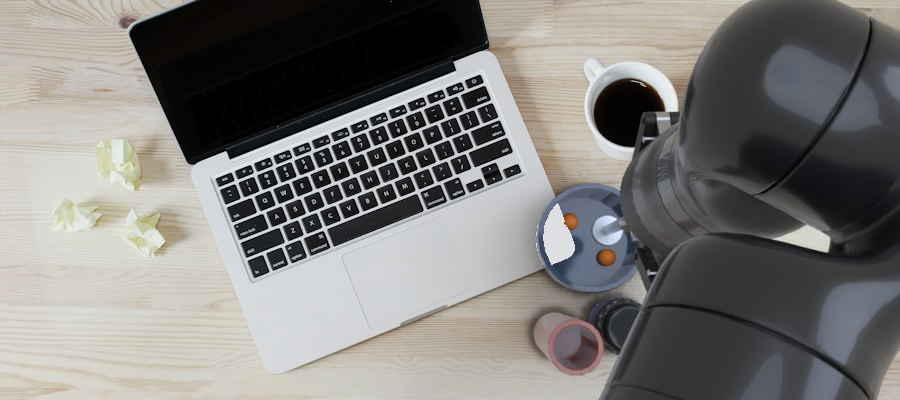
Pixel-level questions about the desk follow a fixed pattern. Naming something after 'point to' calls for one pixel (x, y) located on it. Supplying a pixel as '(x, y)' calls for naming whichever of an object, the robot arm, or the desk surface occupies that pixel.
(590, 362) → the crock
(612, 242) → the ladle
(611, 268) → the bowl
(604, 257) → the bead
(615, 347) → the pill bottle
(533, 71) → the desk surface
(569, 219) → the bead
